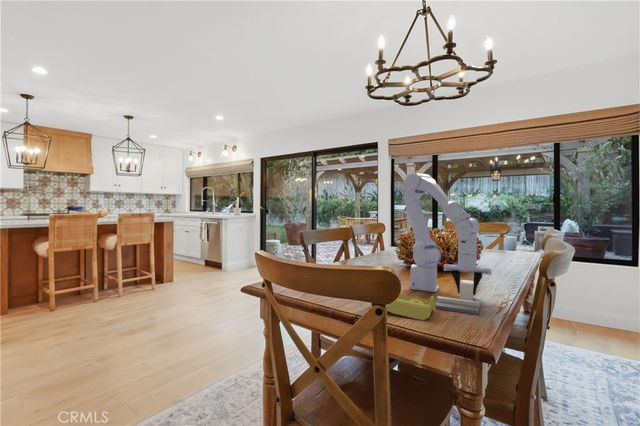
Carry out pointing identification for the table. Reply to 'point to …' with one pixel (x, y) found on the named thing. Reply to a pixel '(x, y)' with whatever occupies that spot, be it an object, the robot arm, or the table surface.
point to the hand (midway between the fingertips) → (466, 293)
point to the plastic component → (412, 307)
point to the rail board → (457, 305)
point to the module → (466, 290)
